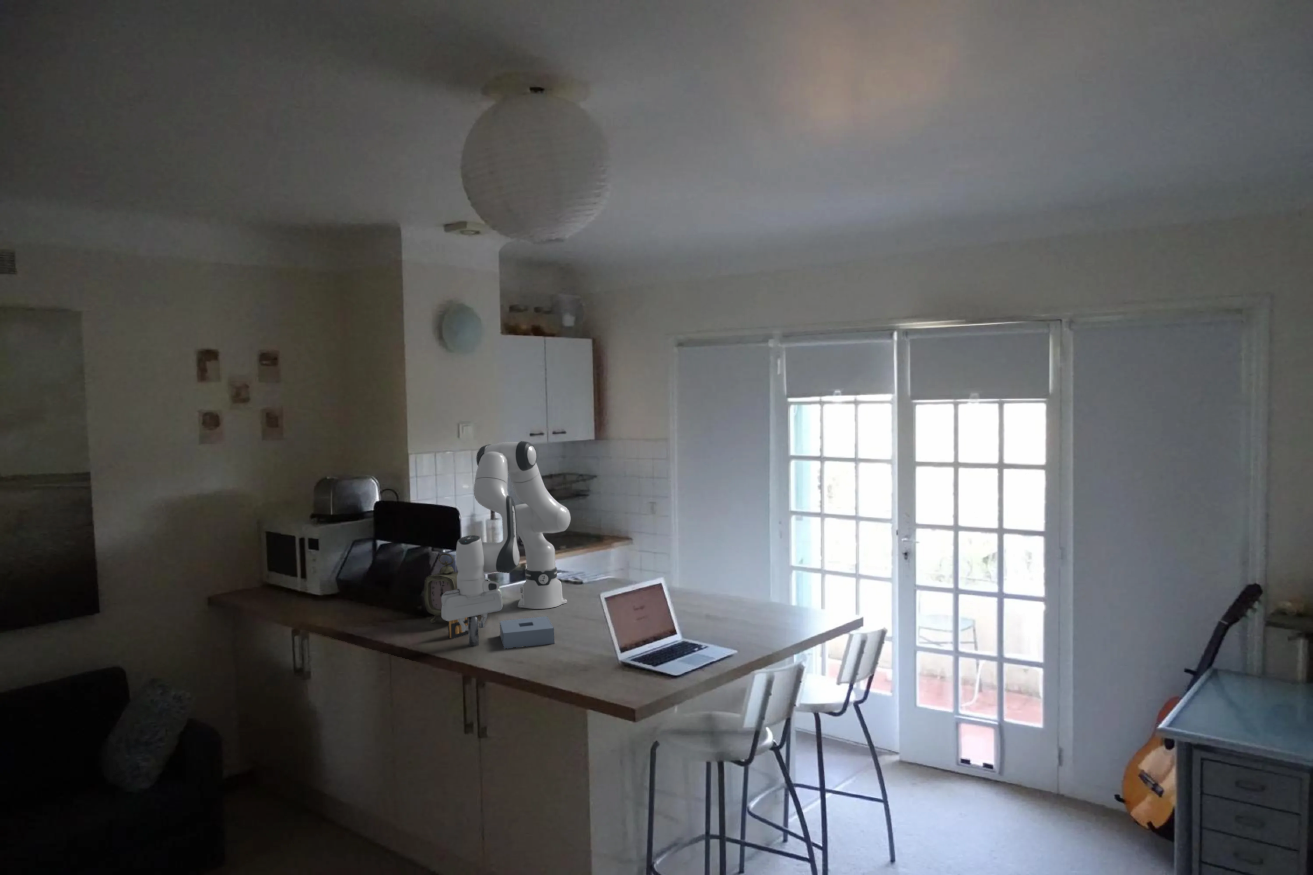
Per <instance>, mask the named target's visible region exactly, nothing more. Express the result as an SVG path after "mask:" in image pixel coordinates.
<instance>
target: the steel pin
mask: <svg viewBox="0 0 1313 875" xmlns="http://www.w3.org/2000/svg"><path fill="white" fill-rule="evenodd" d="M478 622H479V615H476V616H471V617H468V635H467V636H468V646H469V647H478V646H479V645H480V642H479V641H480V638H479V627H478Z"/></svg>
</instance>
